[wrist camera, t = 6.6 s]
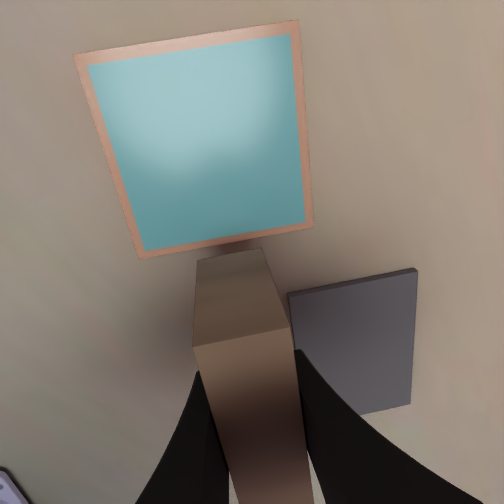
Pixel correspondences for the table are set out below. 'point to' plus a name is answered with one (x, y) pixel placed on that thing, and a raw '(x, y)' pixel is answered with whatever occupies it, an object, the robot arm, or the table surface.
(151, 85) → the picture frame
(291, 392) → the bronze rectangular prism
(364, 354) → the mat
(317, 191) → the table surface
